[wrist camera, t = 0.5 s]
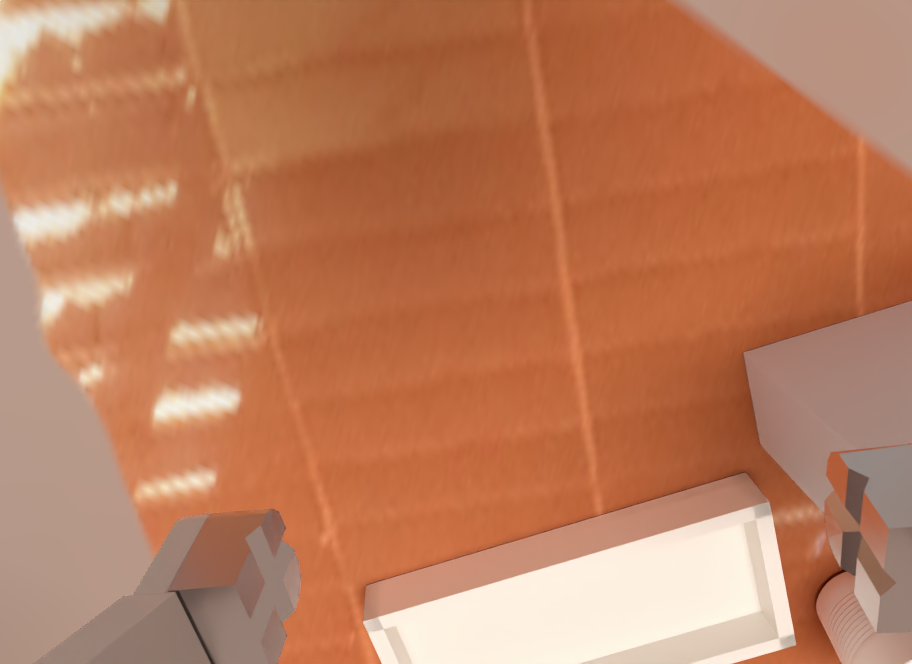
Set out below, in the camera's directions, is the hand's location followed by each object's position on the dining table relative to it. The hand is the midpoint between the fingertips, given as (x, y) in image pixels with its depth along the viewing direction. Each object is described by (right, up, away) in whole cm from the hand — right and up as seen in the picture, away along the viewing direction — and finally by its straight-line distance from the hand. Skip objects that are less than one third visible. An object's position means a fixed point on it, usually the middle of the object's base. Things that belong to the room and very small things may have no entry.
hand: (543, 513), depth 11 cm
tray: (+8, -19, +48) cm, 52 cm away
